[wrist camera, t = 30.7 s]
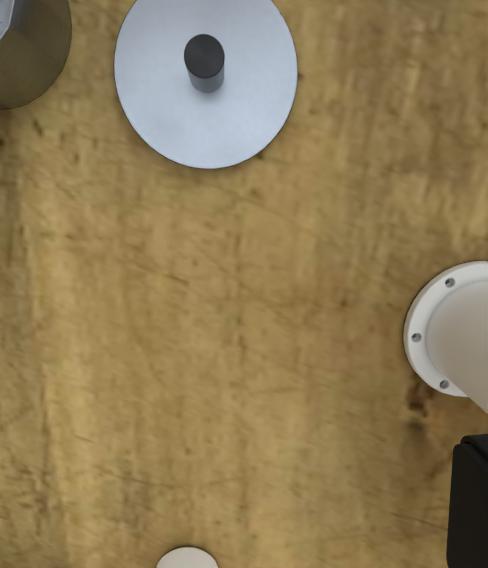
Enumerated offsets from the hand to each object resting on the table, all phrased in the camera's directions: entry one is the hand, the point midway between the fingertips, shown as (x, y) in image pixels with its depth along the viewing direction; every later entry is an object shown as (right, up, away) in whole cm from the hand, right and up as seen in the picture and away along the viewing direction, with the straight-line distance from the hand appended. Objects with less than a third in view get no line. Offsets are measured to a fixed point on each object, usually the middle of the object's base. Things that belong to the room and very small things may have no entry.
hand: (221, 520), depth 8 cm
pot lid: (-2, +20, +23) cm, 31 cm away
